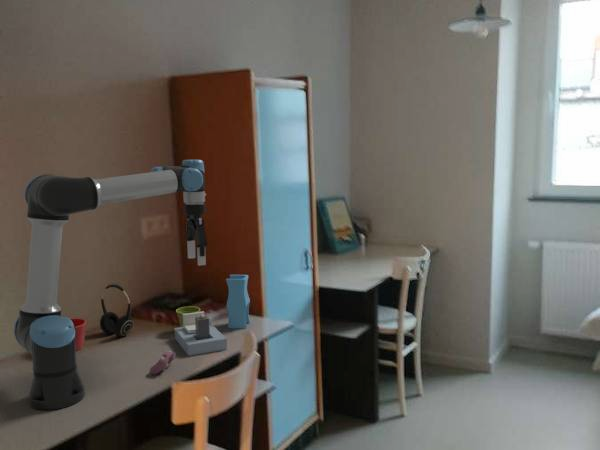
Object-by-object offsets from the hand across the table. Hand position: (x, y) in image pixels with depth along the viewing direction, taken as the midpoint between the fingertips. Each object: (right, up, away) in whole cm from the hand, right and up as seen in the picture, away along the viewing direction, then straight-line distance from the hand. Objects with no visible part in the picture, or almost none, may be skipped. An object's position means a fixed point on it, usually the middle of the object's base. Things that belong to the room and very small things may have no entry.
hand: (196, 261), depth 210 cm
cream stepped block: (-1, -26, +7) cm, 27 cm away
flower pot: (-45, -32, 0) cm, 55 cm away
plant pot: (-6, -29, +18) cm, 34 cm away
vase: (+13, -28, +25) cm, 39 cm away
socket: (+1, -31, +4) cm, 31 cm away
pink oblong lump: (-7, -34, -20) cm, 40 cm away
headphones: (-33, -29, +14) cm, 46 cm away
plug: (+2, -30, 0) cm, 30 cm away
